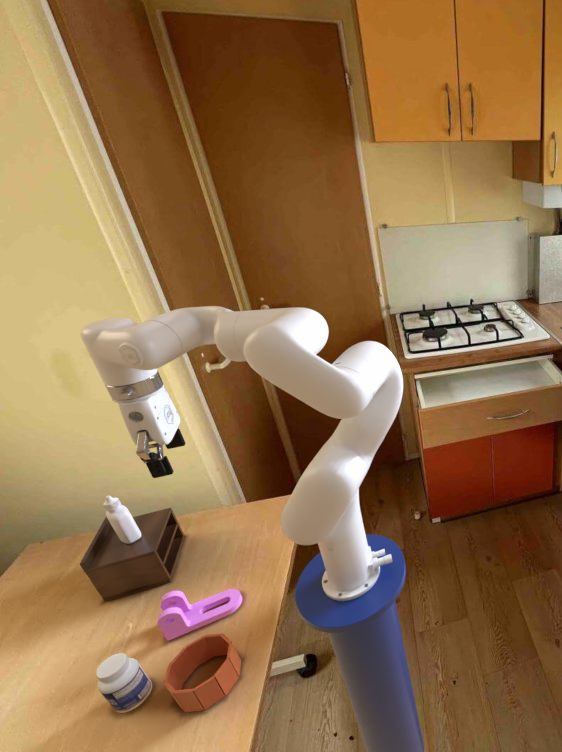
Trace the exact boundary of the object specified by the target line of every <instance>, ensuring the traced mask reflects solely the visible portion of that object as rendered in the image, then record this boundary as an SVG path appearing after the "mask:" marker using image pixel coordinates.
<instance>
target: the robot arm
mask: <svg viewBox="0 0 562 752" xmlns="http://www.w3.org/2000/svg"><path fill="white" fill-rule="evenodd" d="M329 333H330V331H329V326H328V323H327V320H326V319H325V317H324V316H323V315H322V314H321V313H319V311H316V310H314V309H312V308H308V307H299V306H298V307H297V306H296V307H279V308H265V309H264V308H263V309H253V310H251V309H250V310H237V311H236V310H235V311H234V310H232V309H229V308H225V307H223V306H219V305H205V306H189V307H183V308H182V307H181V308H176V309H172V310H169V311H166V312H164V313H162V314H161V313H160V314H159V315H156V316H154V317H152V318H150V319H147V320H145V321H142V322H140V323H137V322H136V321H135V320H133V319H131V318H129V317H111V318H110V317H109V318H104V319H100V320H96V321H93V322H90V323H88V324H86V325H84V326H83V327H82V328H81V330H80V337H81V340H82V342H83V344H84V346H85V348H86V350H87V353H88V354H89V356H90V358H91V360H92V362H93V364H94V366H95V368H96V370H97V372H98V374H99V376H100V378H101V380H102V382H103V385H104V386H105V388H106V390H107V392H108V394H109V396H110V398H111V400H112V401H113V403H117V404H118V407H119V411H120V413H121V416H122V419H123V423H124V425H125V427H126V429H127V431H128V433H129V436H130V438H131V440H132V442H133V443H134V446H135V447H136V448H135V454H136V455H137V456H138V457H139V459H140V460H141V461H142V462H143V464H145V465H146V467H147V469H148V472H149V473H150V476H151V477H152V479H159V478H162V477H167V476H171V475H173V474H174V468H173V467H172V464H171V463H170V460H169V458H168V456H167V455H164V447H163V446H165V448H166V449H167V450H171V449H177V448H181V447H184V446H186V441H185V438H184V436H183V434H182V431H181V428H179V427H180V425H181V417H180V414H179V412H178V410H177V408H176V407H175V404H174V402H173V400H172V398H171V396H170V394H169V392H168V391H167V389H166V388H165V384H164V382H163V379H162V377H161V375H160V373H159V370H158V369H159V368H162V367H164V366H165V365H167V364H169V363H171V362H172V361H175V360H176V359H178V358H180V357H182V356H183V355H185V354H187V353H188V352H190V351H192V350H194V349H196V348H198V347H201V346H207V345H216V348H217V349H218V351H219V353H220V354H221V355H222V356H223V357H224V358H226V359H227V360H229V361H231V362H235V363H236V362H239V363H240V362H247V364H248V365H249V367H250V368H251V369H252V370H253V371H254V372H256V373H257V374H258V375H259V376H260V377H261V378H263V379H265V380H266V381H267V382H269V383H271V384H272V385H274V386H276V387H277V388H279V389H280V390H281V391H284V392H285V393H287V394H289V395H290V396H292V397H294V398H295V399H297V400H298V401H301V402H302V403H304V404H306V405H307V406H309V407H311V408H312V409H314V410H315V411H317V412H319V413H320V414H323V415H325V416H328V417H330V418H333V419H338V420H339V419H340V421H339V423H338V425H337V426H336V428H335V430H334V432H333V433H332V435H331V436H330V437H329V438H328V439H327V441H325V443H324V444H323V445H322V446H321V448H320V449H319V450H318V452H317V453H316V455H314V457H313V459H312V460H311V461H310V462H309V464H308V465H307V467H306V468H305V469H304V471H303V472H302V475H301V476H300V477H299V479H298V481H297V482H296V485H295V487H294V489H293V490H292V493H291V495H290V497H289V498H288V499H287V502H286V504H285V506H284V508H283V510H282V512H281V514H280V520H279V521H280V527H281V530H282V533H283V534H284V536H286V538H287V539H288V540H289V541H290V542H292V543H294V544H297V545H300V546H314V545H316V544H317V545H318V549H319V553H320V552H321V555H322V559H323V562H324V566H325V569H326V571H325V572H324V575H323V578H322V587H323V590H324V592H325V594H326V595H327V596H328V597H329V598H331V599H333V600H337V601H347V600H352V599H355V598H357V597H359V596H361V595H363V594H364V593H366V592H367V591H368V590H369V589H371V587H372V586H373V585H374V584H375V582H376V581H377V579H378V577H379V573H380V566H382V565H386V564H389V563H392V562H393V561H392V556H391V554H389V555H386V554H385V549H382V550H379V551H377V552H374V551H373V552H371V547H370V546H369V547H368V543H367V539H366V534H367V533H366V530H365V526H364V522H363V521H364V520H363V515H362V510H361V505H360V487H361V485H362V483H363V481H364V479H365V477H366V475H367V474H368V471H369V469H370V467H371V464H372V462H373V460H374V458H375V455H376V453H377V451H378V449H379V448H380V446H381V445H382V443H383V442H384V440H385V437H386V436H387V434H388V432H389V430H390V429H391V427H392V425H393V423H394V421H395V419H396V418H397V415H398V412H399V409H400V407H401V403H402V399H403V394H404V376H403V373H402V369H401V366H400V364H399V362H398V360H397V358H396V357H395V355H394V353H393V352H392V351H391V350H390V349H389V348H388V347H387V346H386V345H384V344H382V343H381V342H378V341H375V340H374V341H373V340H364V341H359V342H357V343H356V344H353V345H351V346H350V347H348V348H347V349H345V350H344V352H342V353H341V354H340V355H339V356H338V357H337V358H336V359H335V360H334V361H333V362H332V363H330V362H328V361H326V360H325V359H323V358H322V357H320V355H317V354H319V353H320V352H321V351H322V349H324V347H325V346H326V344H327V341H328V339H329ZM152 442H155V443H152ZM155 448H156V452H154V451H151V449H155ZM383 555H386V556H384V557H381V558H378V559H377V557H379V556H383Z"/></svg>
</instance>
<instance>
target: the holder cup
mask: <svg viewBox="0 0 562 752" xmlns="http://www.w3.org/2000/svg"><path fill="white" fill-rule="evenodd" d="M220 656H226V659H225V660H224V661H223V663H222V664H221V665H220V667H219V668H218V669H217V671H216V672H215V673H214V674H213V675H212V676H211V677H209V678H208V679H206V680H205V681H203V682H202V683H200V684H198V685H197V686H195V687H194V688H184V689H183V687H184V684H185V682H186V681H187V680H188V678H189V677H190V676H191V675H192V674H193V673H194V671H195V670H196V669H197V668H198V667H199V666H200V665H203V664H204V663H206V662H207V661H209V660H211V659H212V658H214V657H220ZM241 667H242V659H241V656H240V654H239V653H238V650H237V649H236V647H235V645H234V643H233V641H232V640H231V639H230V638H229V637H227V635H225V634H224V633H222V632H220V633H211V634H210V633H209V634H205V635H202V636H200V637H199V638H197V639H195V640H193V641H192V642H190V643H188V644H187V645H185V646H184V647H182V649H181V650H180V651H179V652H178V654H177V655H176V656H175V657H174V658H173V659H172V660H171V661H170V662H169V664H168V665H167V669H166V673H165V677H164V680H163V685H164V686H165V688H166V689H167V691H168V693H169V694H170V695H171V697H172V698H173V699H174V701H175V703H176V704H177V705H178V706H179V707H180V708H181V709H182V711H183V712H185V713H191V712H192V713H193V712H201V711H205V710H207V709H209V708H211V707H212V706H213V705H215V704H216V703H218V702H219V701H221V700H222V699H224V698H225V697H226V696H227V695H228V693H229V692H230V691H231V689H232V688H233V687H234V686H235V684H236V683H237V681H238V680H239V679H240V678H239V677H240V675H241V669H242V668H241Z"/></svg>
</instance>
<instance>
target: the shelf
mask: <svg viewBox="0 0 562 752" xmlns="http://www.w3.org/2000/svg"><path fill="white" fill-rule="evenodd" d="M132 517H133V519H134V521H135V523H136V524H137V526H138V528H139V530H140V532H141V538H140V539H138V540H136V541H135V542H133V543H131V544H126V543H123V542H122V541H121V540H120V539H119V537H118V535H117V534H116V532H115V530H114V529H113V527H112V525H111V524H110V522H109V520H108V518H107V517H106V516H105V518H104V519H103V520H102V523H101V525H100V526H99V528H98V530H97V532H96V534H95V535H94V537H93V539H92V541H91V542H90V545H89V546H88V548H87V550H86V551H85V553H84V555H83V557H82V559H81V560H80V562H79V566H80V567H81V569H82V570H83V572H84V574H85V575H86V576H87V577H88V579H89V580H90V582H91V583H92V585H93V586H94V588H95V589H96V591H97V592H98V594H99V596H100V597H101V598H102V600H103V602H108V601H111V600H115V599H118V598H121V597H125V596H127V595H128V596H129V595H132V594H134V593H137V592H142V591H144V590H145V591H146V590H148V589H151V588H154V587H157V586H161V585H164V584H168V583H171V582H172V579H173V577H174V573H175V570H176V567H177V564H178V561H179V558H180V555H181V551H182V549H183V545H184V543H185V539H186V535H185V533H184V531H183V528H182V527H181V525H180V522H179V521H178V518H177V517H176V515H175V513H174V511H173V509H172V507H167V508H164V509H160V510H156V511H152V512H149V513H148V512H147V513H143V514H139V515H135V516H132Z"/></svg>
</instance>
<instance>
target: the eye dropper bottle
mask: <svg viewBox="0 0 562 752" xmlns="http://www.w3.org/2000/svg"><path fill="white" fill-rule="evenodd" d="M103 507H104V508H105V510H106V511H105V518H106V517H107V518H108V520H109V522H110V524H111V525H112V527H113V529H114V530H115V532H116V534H117V535H118V537H119V539H120V540H121V541H122V542H123V543H126V544H131V543H133V542H135V541H136V540H138V539H140V538H141V532H140V530H139V528H138V526H137V524H136V523H135V521H134V519H133V517H134V516H132V514H131V512H130V510H129V509H128V507H127V506H126V505H123V504H122V502H121V500H120V499H119V498H118V497H116V496H115V497H114V496H113V497H112V496H111V495H109V494H108V495H106V496H105V501H104V502H103Z"/></svg>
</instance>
